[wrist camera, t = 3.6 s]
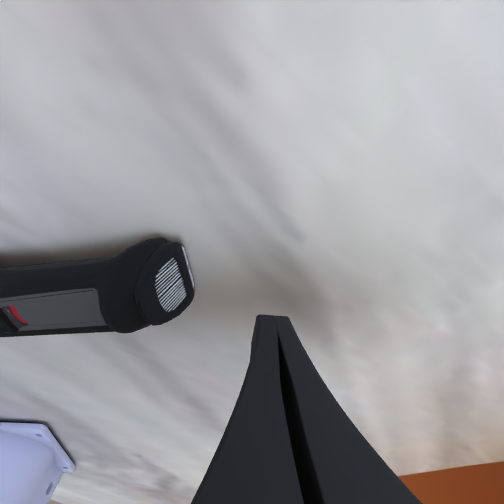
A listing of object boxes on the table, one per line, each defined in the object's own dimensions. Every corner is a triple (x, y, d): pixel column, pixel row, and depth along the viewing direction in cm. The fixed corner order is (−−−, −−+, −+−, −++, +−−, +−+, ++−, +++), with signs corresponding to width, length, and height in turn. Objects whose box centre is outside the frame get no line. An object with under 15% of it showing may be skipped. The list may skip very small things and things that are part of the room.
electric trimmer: (-165, 254, 11) (-303, 307, 8) (179, 228, 10) (154, 276, 7) (-93, 314, 13) (-184, 372, 10) (198, 295, 12) (183, 352, 9)
